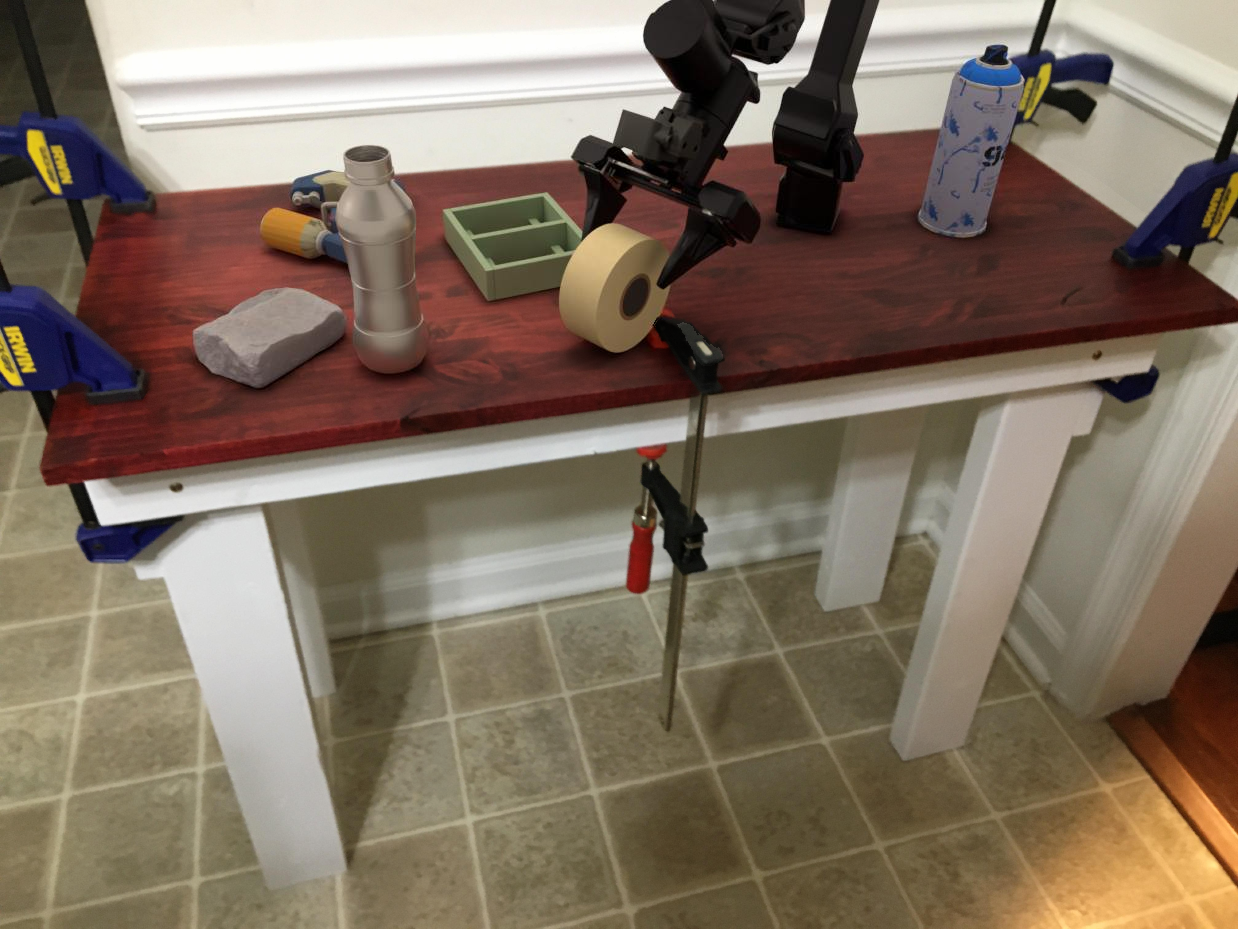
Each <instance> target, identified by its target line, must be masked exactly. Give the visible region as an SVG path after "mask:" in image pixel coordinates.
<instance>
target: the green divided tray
mask: <svg viewBox="0 0 1238 929" xmlns="http://www.w3.org/2000/svg"><path fill="white" fill-rule="evenodd" d="M442 218H443V219H442V220H443V231H444V239H445V240H446V242H447V244H448V245H449V246H450V248H451V249H452V251H453V252H454V254H455V255H456V257H457V259H458V260H459V262H460V263H461V264H462V266H463V267H464V269H465V270H466V272H467V273H468V275H469V276H470V277H471V279H472V280H473V282H474V283H475V285H476V286H477V288H478V289H479V291H480V292H481V294H482V295H483V297H484V298H485V299H486V301H487V302H492V301H496V300H501V299H506V298H512V297H517V296H522V295H526V294H531V293H536V292H540V291H546V290H551V289H555V288H560V287H561V282H562V279H563V275H564V272H565V270H566V267H567V265H568V263H569V261H570V259H571V257H572V255H573V253H574V252H575V250H576V249H577V247H578V246H579V245H580V243H581V238H582V232H583V229H581V228H580V227H579V226H578V225H577V224H576V223H575V222H574V220H573V219H572V218H571V217H570V216H569V215H568V214H567V212H565V210H564V209H563V208H562V207H561V205H559V204H558V202H557V201H556V200H555V199H554V198H553V197H552V196H551V195H550V194H549V192H547V191H546V192H541V193H534V194H533V193H532V194H528V195H521V196H517V197H511V198H510V197H509V198H504V199H498V200H493V201H486V202H480V203H475V204H468V205H462V206H456V207H450V208H445V209H442Z"/></svg>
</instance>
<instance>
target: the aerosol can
mask: <svg viewBox="0 0 1238 929" xmlns="http://www.w3.org/2000/svg"><path fill="white" fill-rule="evenodd" d="M1008 52H1009V47H1008V46H1007V45H1005V44H990V45H987V46H986V47H985V50H984V53H983V54H982V55H978V56H977V57H974V58H971V59H969V60H967V61H966V62H965V63H964V64H962V66H960V67H958V68H957V69H956V70H955V73H954V75H953V77H952V80H951V82H950V83H951V84H950V88H949V92H948V96H947V100H946V104H945V109H944V113H943V117H942V121H941V126H940V129H939V134H938V138H937V143H936V147H935V150H934V155H933V159H932V162H931V163H932V164H931V167H930V171H929V176H928V179H927V184H926V188H925V193H924V197H923V201H922V205H921V208H920V209H919V212H918V214H917V220H918V223H919V224H920V225H921V226H922V227H924V228H925V229H927V230H928V231H930V232H933V233H935V234H937V235H942V236H945V237H950V238H962V239H963V238H973V237H976V236H979V235H981V234H983V233H984V232H986V228H987V224H988V222H987V219H988V214H989V212H990V209H991V208H990V207H991V204H992V201H993V197H994V194H995V190H996V187H997V184H998V180H999V176H1000V174H1001V169H1002V166H1003V164H1004V160H1005V155H1006V152H1007V149H1008V145H1009V143H1010V142H1009V141H1010V139H1011V134H1012V131H1013V128H1014V125H1015V122H1016V117H1017V114H1018V111H1019V106H1020V103H1021V100H1022V96H1023V93H1024V89H1025V78H1024V76H1023V74H1022V73H1021V71H1020V69H1019V67H1018V66H1017V65H1016V64H1014V63H1013V61H1012V60H1011V59H1009V58H1008Z"/></svg>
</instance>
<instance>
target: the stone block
mask: <svg viewBox="0 0 1238 929" xmlns="http://www.w3.org/2000/svg"><path fill="white" fill-rule="evenodd" d="M347 318H348V317H347V316H346V314H345V312H344V311H343V310H342V309H341V307H339V306H338V305H337V304H335V303H332V302H330V301H329V300H326V299H324V298H322V297H320V296H318V295H316V294H314V293H311V292H310V291H307V290H304V289H302V288H292V287H286V286H285V287H281V288H278V287H277V288H276V287H274V288H272V289H265V290H263V291H261V292H260V293H258V294H257V295H255V296H253V297H249V298H247V299H246V300H244V301H242V302H240V303H238V304H237V305H236V306H234V307H233V308H232V309H231V310H230V311H229V313H227V314H224V315H222V316H219V317H218V318H216V319H215V320H214V319H213V321H209V322H207V323H204V324H202V325H200V326H197V328H194V329H193V330H192V338H193V342H192V343H193V346H194V351H195V353H196V356H197V358H198V361H199V362H200V363H201V364H203V365H204V366H205V367H206V368H207V369H208V370H209V371H210V373H212V374H213V375H216V376H217V375H218V376H222V377H224V378H227V379H231V380H233V381H236V382H237V383H239V384H244V385H247V386H250V387H251V388H255V389H262V388H265V387H266V386H268V385H270V384H271V383H273V382H274V381H276V380H277V379H279V378H281V377H283V376H284V375H286V374H288V373H289V372H290V371H292V370H294V369H296V368H297V367H298V366H300V365H301V364H303V363H305V362H307V361H309V360H310V359H312V358H313V357H314V356H316V354H319V353H320V352H322V351H324V350H326V349H327V348H329V347H331V346H332V345H334V344H335V343H336V342H338V341H339V340H340V339H341V338H342V337H343V336H344V335H345V334H346V329H347V322H348V319H347Z"/></svg>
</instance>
